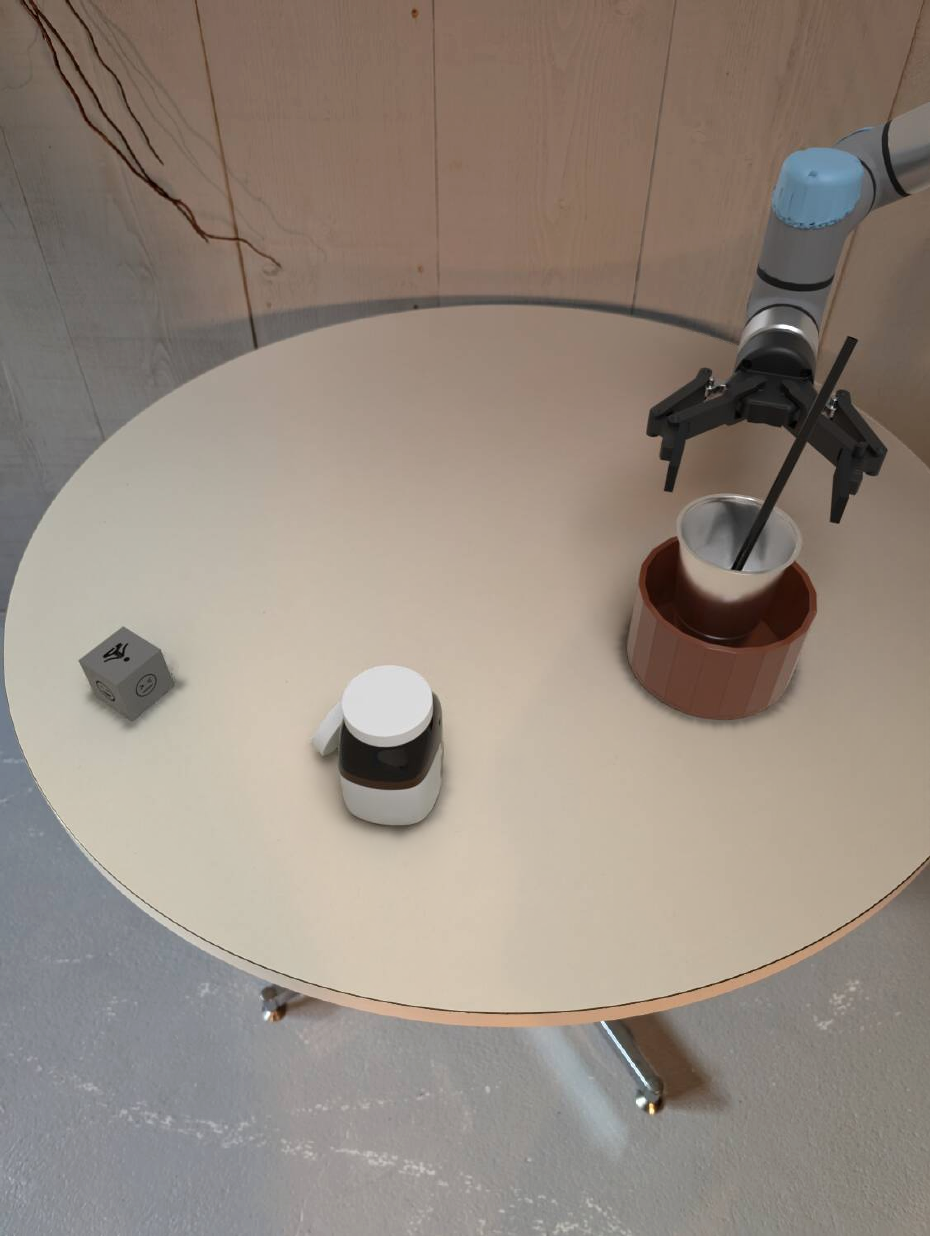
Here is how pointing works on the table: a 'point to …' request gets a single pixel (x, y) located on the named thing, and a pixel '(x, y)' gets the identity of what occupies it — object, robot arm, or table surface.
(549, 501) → the table surface
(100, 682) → the dice cube
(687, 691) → the crock
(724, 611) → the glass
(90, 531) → the table surface
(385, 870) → the table surface
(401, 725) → the spread jar
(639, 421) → the table surface
